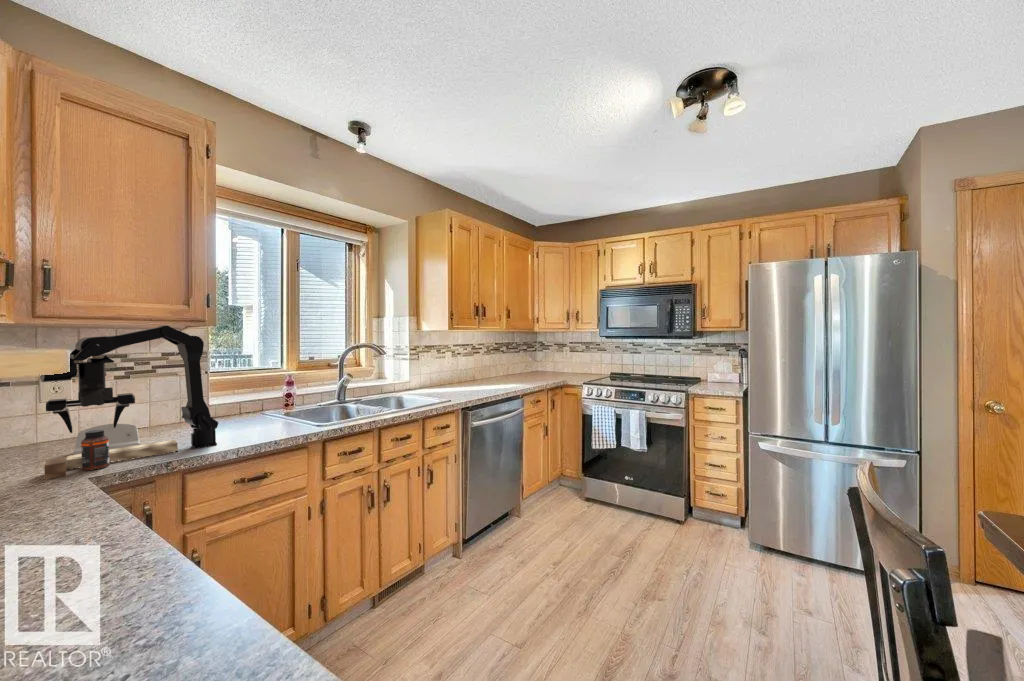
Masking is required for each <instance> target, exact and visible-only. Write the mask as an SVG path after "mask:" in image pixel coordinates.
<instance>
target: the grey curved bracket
mask: <svg viewBox="0 0 1024 681" xmlns="http://www.w3.org/2000/svg"><path fill="white" fill-rule="evenodd" d="M92 430H104V435H105V436H106V437H108V439H109V450H110V449H117V448H124V447H130V446H137V445H142V444H141V439H140V434H139V431H138V426H137V425H135V424H130V423H129V424H127V423H117V425H116V427H115V428H114V426H113V423H107V424H102V425H96V426H92V427H87V428H85V429H83V430H80V431H79V432H78V433H77V435H76V440H75V445H74V449H73V455H77V454H82V452H81V442H82V440H84V439H85V437H86V436H85V432H87V431H92Z"/></svg>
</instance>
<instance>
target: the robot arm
mask: <svg viewBox="0 0 1024 681" xmlns="http://www.w3.org/2000/svg"><path fill="white" fill-rule="evenodd" d="M159 339H163V340H165V341H167V342H169V343H171V344H173V345H175V346H176V348H177V350H178V353H179V356H180V357H181V359H182V360H183V364H184V365H183V366H184V376H185V377H184V378H185V386H186V387H185V388H186V395H187V396H186V398H187V402H186V404H185V406H180V409H181V419H183V420H184V422H185V423H187V424H188V425H189V426H190V428H191V429H192V433H190V445H191V446H192V447H193V446H194V447H195V448H194V447H193V448H194V449H199V448H198V447H200V448H205V446H206V447H212V446H217V445H218V443H217V440H216V435H217V433H216V429H217V428H218V425H219V422H218V421H217V420H215V419H214V418H212V417H211V412H210V409H209V407H208V405H207V402H206V401H205V399H204V388H203V380H202V368H201V359H202V356H203V353H204V346H205V343H204V340H203V339H202V338H201V337H200V336H198V335H190V334H188V333H186V332H183V331H180V330H178V329H175V328H173V327H172V326H170V325H159V326H156V327H152V328H151V327H150V328H146V329H141V330H137V331H131V332H126V333H120V334H116V335H102V336H100V335H99V336H87V337H83V338H80V339H78V340H77V341H76V343H75V348H74V349H73V350H72V352H71V353H69V354H70V372H67V373H63V374H54V375H41V376H40V375H39V379H40V381H41V383H49V382H52V383H53V382H65V381H71V380H73V378H75V377H77V375H78V377H77V379H78V394H77V396H78V397H77V398H78V399H76V400H75V399H73V400H68V399H67V398H54V399H49V400H47V401H46V403H45V412H52V414H54V415H55V414H56V415H57V414H58V415H59V417H61V419H62V420H63V422H64V423H65V426H66V427H67V429H68V431H69V433H70V434H72V433H73V424H72V419H71V414H70V409H69V408H70V407H71V408H73V407H80V406H81V407H82V408H83V407H85V408H86V407H89V406H90V407H91V406H103V405H105V404H114V403H115V408H114V416H113V421H112V422H113V423H112V424H113V426H114V428H115V427H116V425H117V424H118V422H119V419H120V416H121V414H123V411H124V409H125V408H129V407H130V405H131V404H136V395H135V394H134V393H132V392H127V393H118V394H116V396H114V393H113V392H114V390H113V387H106V364H112V363H113V364H114V363H115V360H114V359H112V358H110V357H109V356H108V355H106V354H108V353H110V352H113V351H115V350H117V349H120V348H122V347H123V348H124V347H126V346H130V345H135V344H141V343H145V342H149V341H153V340H154V341H155V340H159ZM99 356H101V357H99ZM85 360H86V361H85Z"/></svg>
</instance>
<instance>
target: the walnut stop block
mask: <svg viewBox="0 0 1024 681" xmlns="http://www.w3.org/2000/svg"><path fill="white" fill-rule="evenodd" d="M43 467H44V480H46V479H47V480H52V479H51V478H53V479H57V478H56V477H58V478H63V477H62V476H64V477H66V476H67V473H66V472H68V470H67V456H65V457H59V458H58V457H57V458H52V459H46V461H45V462H44V466H43Z"/></svg>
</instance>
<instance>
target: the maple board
mask: <svg viewBox="0 0 1024 681" xmlns="http://www.w3.org/2000/svg"><path fill="white" fill-rule="evenodd" d="M174 451H178V442H177V441H176V439H171V440H165V441H159V442H151V443H145V444H141V445H137V446H130V447H124V448H117V449H110V450H109V461H110V462H111V461H118V460H124V461H126V460H125V459H130V460H133V459H132V458H136V459H139V458H138V457H143V458H145V457H144V456H149V457H152V456H151V455H155V456H158V455H157V454H161V455H164V454H163V453H167V454H169V453H168V452H173V453H175V452H174ZM66 459H67V469H70V470H74V469H73V468H76V469H80V468H79V467H82V454H77V455H74V454H72V455H67V456H66ZM118 462H119V461H118Z"/></svg>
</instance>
